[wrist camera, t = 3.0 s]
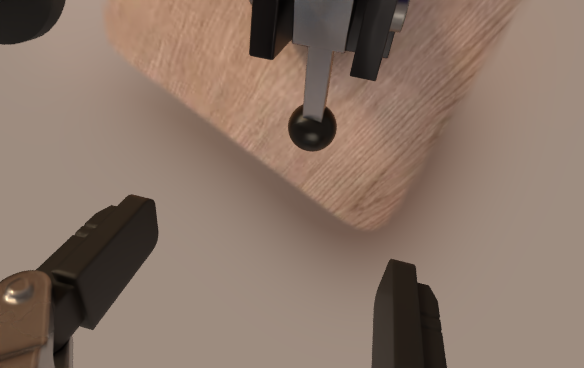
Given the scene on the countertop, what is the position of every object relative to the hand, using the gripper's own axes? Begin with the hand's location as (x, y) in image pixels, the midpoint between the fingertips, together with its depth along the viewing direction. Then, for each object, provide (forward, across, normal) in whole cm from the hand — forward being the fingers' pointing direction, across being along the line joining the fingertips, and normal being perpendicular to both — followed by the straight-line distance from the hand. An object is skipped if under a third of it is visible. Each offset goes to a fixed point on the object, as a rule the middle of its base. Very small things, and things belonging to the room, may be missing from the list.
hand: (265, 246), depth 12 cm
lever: (+10, 0, -4) cm, 11 cm away
